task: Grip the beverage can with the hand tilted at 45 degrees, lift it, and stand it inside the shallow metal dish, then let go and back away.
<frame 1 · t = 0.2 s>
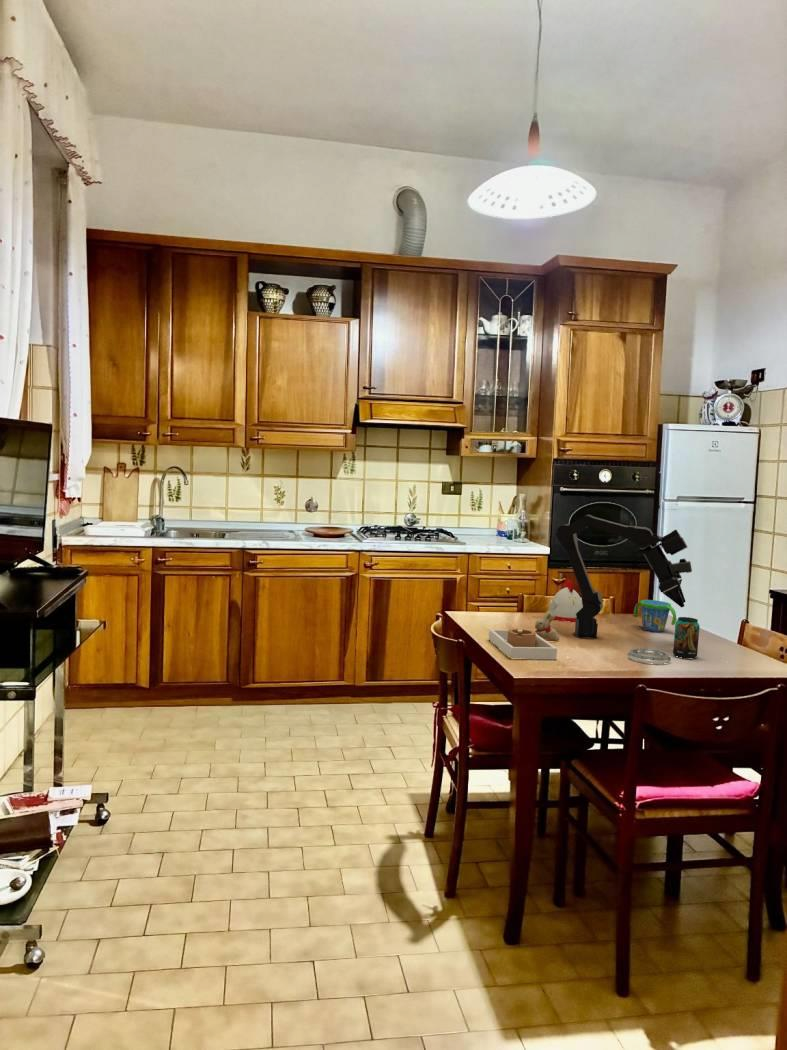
hand: (683, 604, 249), 15 cm above the table, tool tilted 35°, fingers open, 9 cm apart
bracket: (520, 651, 238), resting in gray rectangular tray
beverage can: (684, 657, 239), on the table
shallow metal dish: (648, 659, 233), on the table
snack cup: (653, 630, 278), on the table
chocolate bunny: (546, 641, 252), on the table
gray rectangular tray: (520, 649, 238), on the table
kitchen timer: (566, 619, 292), on the table
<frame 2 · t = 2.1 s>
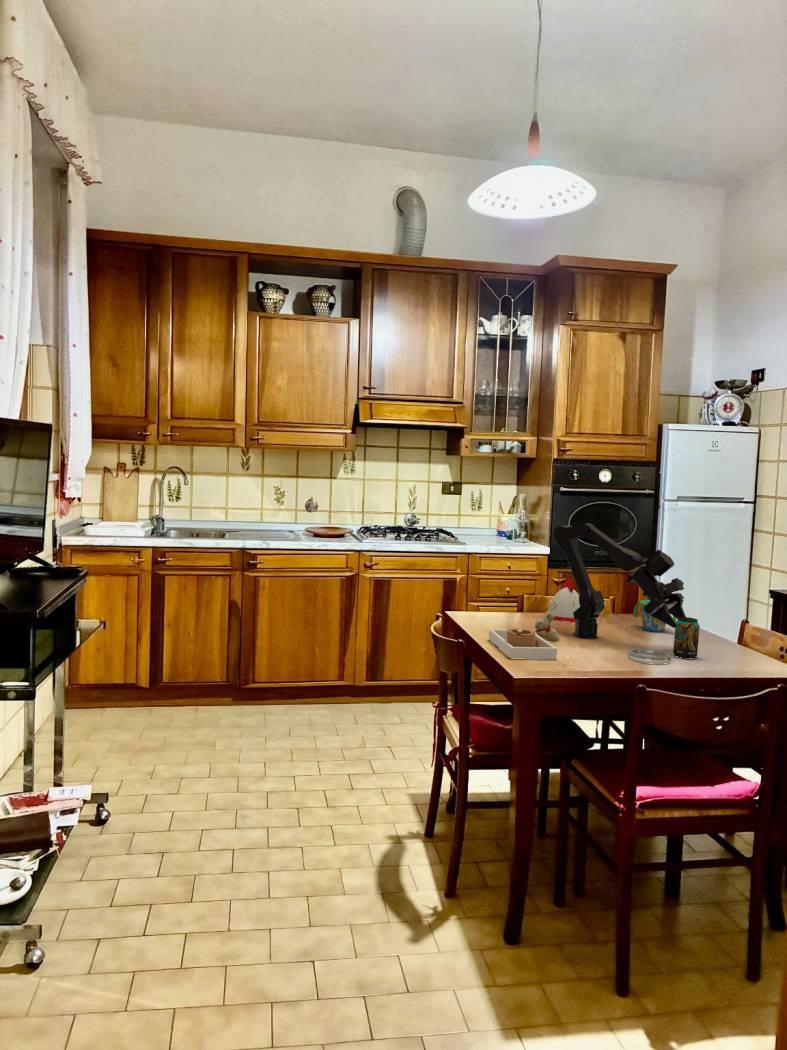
hand: (681, 625, 240), 10 cm above the table, tool tilted 45°, fingers open, 9 cm apart
nothing on the table moved.
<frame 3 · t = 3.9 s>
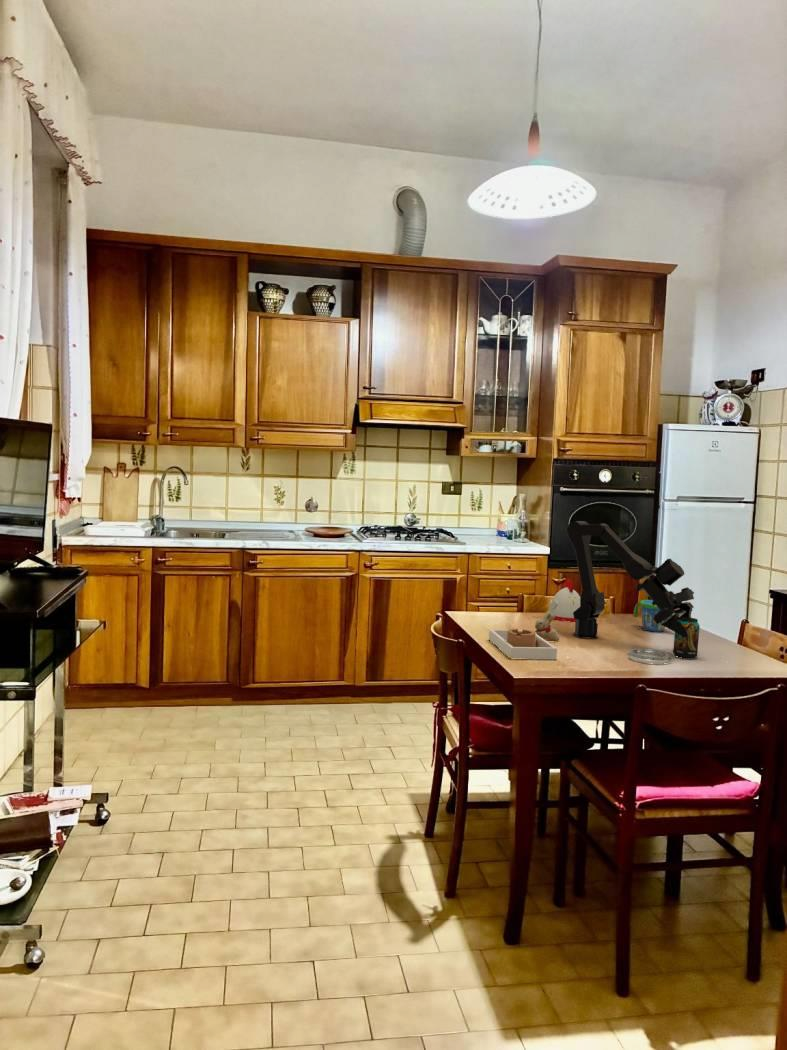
hand: (691, 635, 238), 7 cm above the table, tool tilted 45°, fingers closed on beverage can, 7 cm apart
beverage can: (684, 657, 239), on the table, touching gripper
everything else where it was.
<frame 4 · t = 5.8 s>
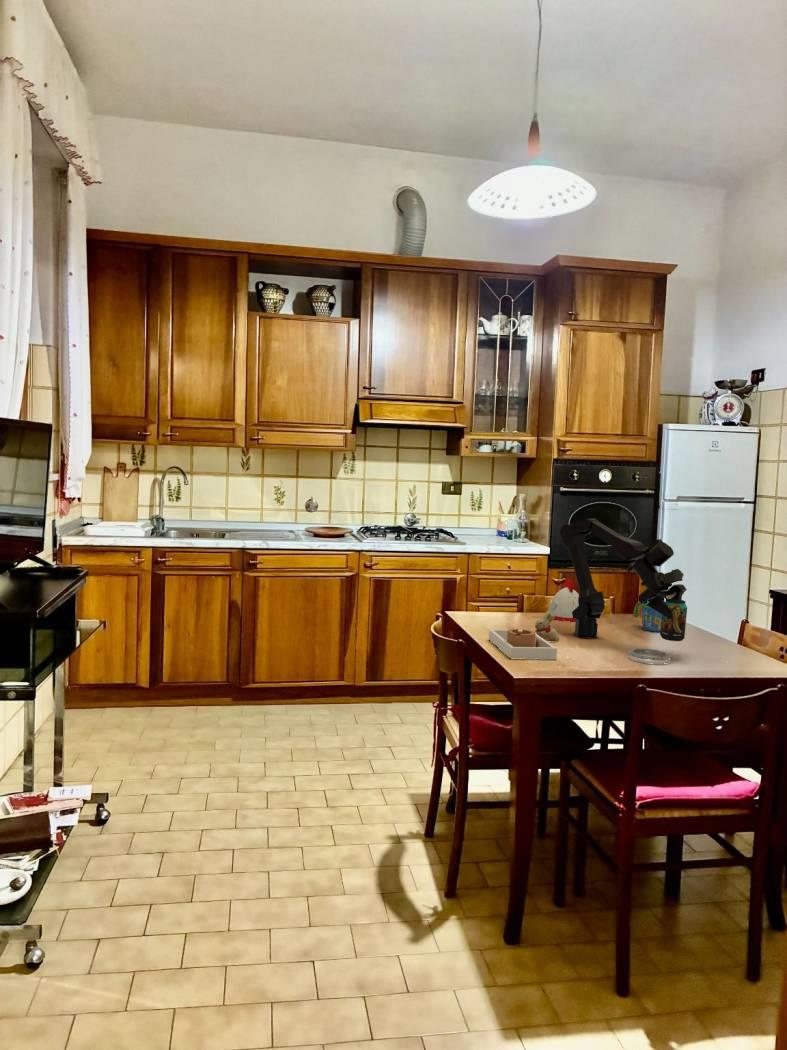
hand: (678, 617, 234), 13 cm above the table, tool tilted 45°, fingers closed on beverage can, 7 cm apart
beverage can: (671, 639, 236), point 6 cm above the table, touching gripper
everything else where it was.
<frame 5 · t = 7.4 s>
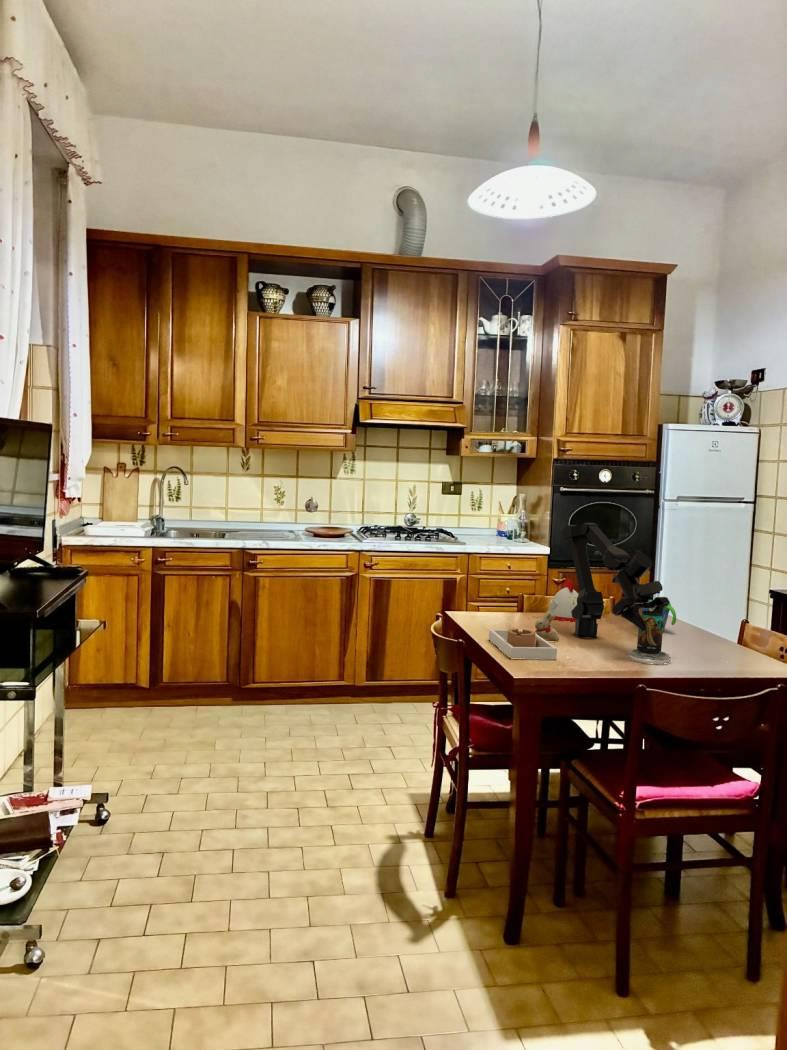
hand: (654, 629, 231), 9 cm above the table, tool tilted 45°, fingers closed on beverage can, 7 cm apart
bracket: (521, 651, 237), resting in gray rectangular tray
beverage can: (648, 652, 233), point 2 cm above the table, touching gripper
everything else where it was.
when the fingers open (9 cm above the table, at t = 8.2 s): beverage can drops 1 cm, resting on shallow metal dish.
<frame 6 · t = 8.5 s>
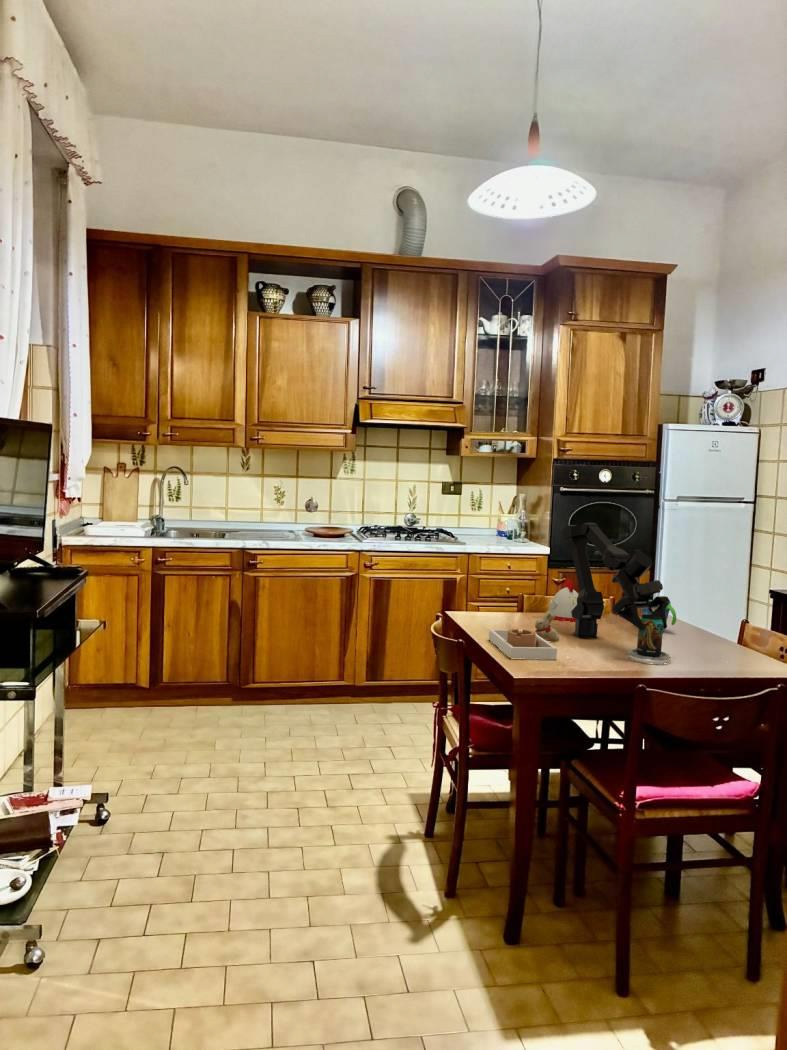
hand: (654, 628, 231), 10 cm above the table, tool tilted 45°, fingers open, 9 cm apart
bracket: (521, 651, 237), resting in gray rectangular tray
beverage can: (648, 656, 233), point 1 cm above the table, touching shallow metal dish
everything else where it was.
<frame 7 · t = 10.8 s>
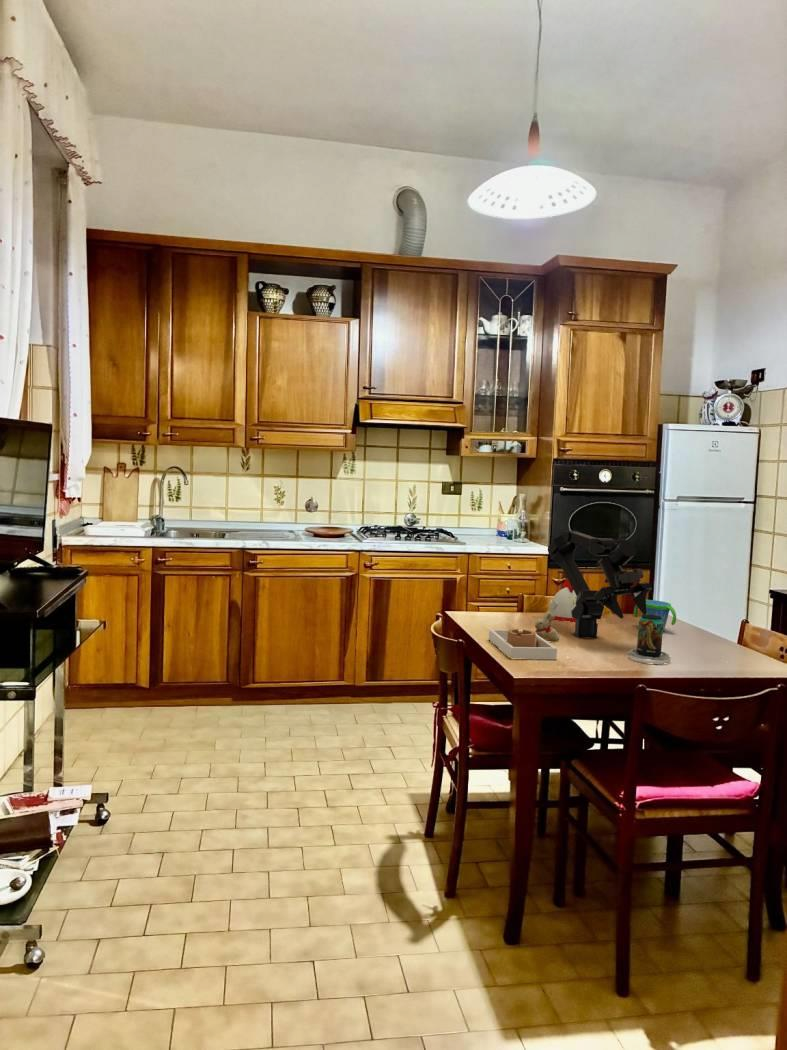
hand: (634, 616, 241), 11 cm above the table, tool tilted 40°, fingers open, 9 cm apart
nothing on the table moved.
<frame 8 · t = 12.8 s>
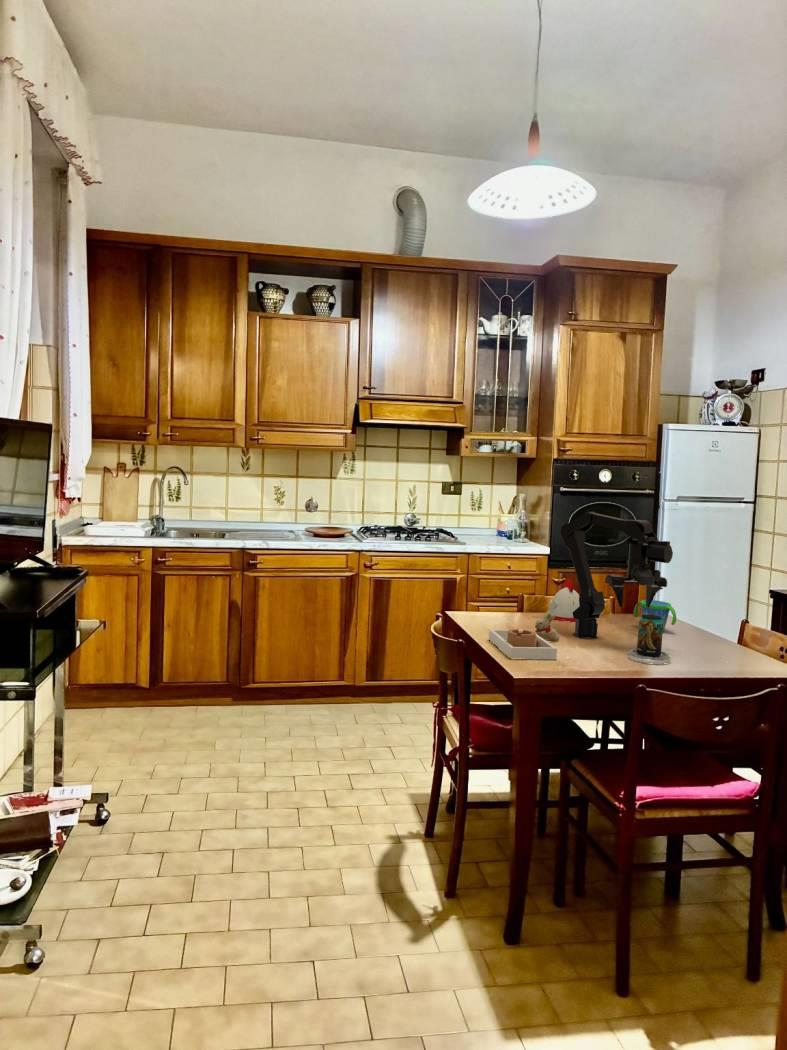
hand: (634, 607, 248), 13 cm above the table, tool pointing down, fingers open, 9 cm apart
nothing on the table moved.
at the end: beverage can 0.2 cm off-centre on the shallow metal dish, point 1.0 cm above the shallow metal dish's base; beverage can tilted 0°; the gripper is holding nothing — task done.
